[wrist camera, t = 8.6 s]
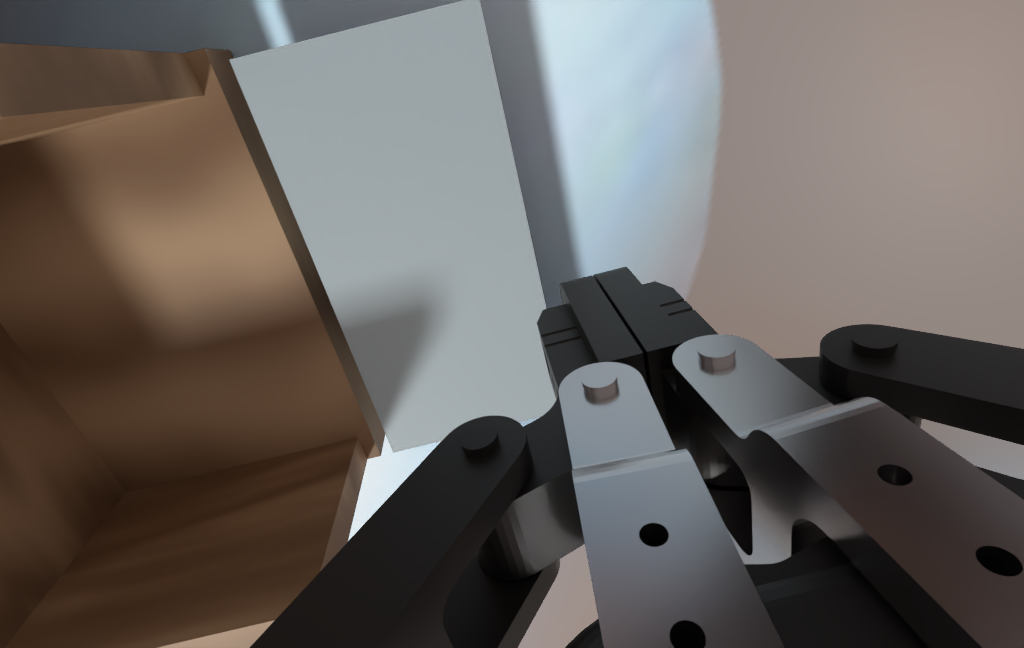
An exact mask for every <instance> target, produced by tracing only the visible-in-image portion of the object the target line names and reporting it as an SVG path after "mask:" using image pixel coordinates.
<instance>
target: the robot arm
mask: <svg viewBox="0 0 1024 648" xmlns="http://www.w3.org/2000/svg"><path fill="white" fill-rule="evenodd" d="M560 292H561V298H562V303H563V305H561V306H557V307H553V308H549V309H545V310H542V313H541V315H540V317H539V319H538V321H537V326H538V330H539V334H540V339H541V343H542V347H543V351H544V356H545V360H546V364H547V368H548V373H549V377H550V381H551V384H552V387H553V390H554V394H555V397H556V401H555V403H554V405H553V406H552V407H551V409H550V410H549V411H548V412H547V413H545V414H544V415H543V416H542V417H540V418H539V419H537V420H535V421H533V422H532V423H530V424H528V425H526V426H524V427H522V425H521V424H520V423H518V422H517V421H516V420H514V419H512V418H509V417H506V416H494V415H492V416H484V417H479V418H476V419H473V420H470V421H468V422H465V423H463V424H462V425H460V426H458V427H457V428H455V429H454V430H453V431H451V432H450V433H449V434H448V435H447V436H446V437H445V438H444V439H443V440H442V441H441V442H440V444H439V445H438V446H437V447H436V448H435V449H434V450H433V451H432V452H431V453H430V454H429V455H428V456H427V457H426V459H425V460H424V461H423V462H422V463H421V464H420V465H419V466H418V467H417V468H416V469H415V470H414V471H413V473H412V474H411V475H410V476H409V477H408V478H407V479H406V480H405V481H404V482H403V483H402V484H401V485H400V486H399V488H398V489H397V490H396V491H395V492H394V493H393V494H392V495H391V496H390V497H389V498H388V499H387V500H386V502H385V503H384V504H383V505H382V506H381V507H380V508H379V509H378V510H377V511H376V512H375V513H374V514H373V515H372V517H371V518H370V519H369V520H368V521H367V522H366V523H365V524H364V525H363V526H362V527H361V528H360V529H359V531H358V532H357V533H356V534H355V535H354V536H353V537H352V538H351V539H350V540H349V541H348V542H347V543H346V544H345V546H344V547H343V548H342V549H341V550H340V551H339V552H338V553H337V554H336V555H335V556H334V557H333V558H332V559H331V561H330V562H329V563H328V564H327V565H326V566H325V567H324V568H323V569H322V570H321V571H320V572H319V573H318V575H317V576H316V577H315V578H314V579H313V580H312V581H311V582H310V583H309V584H308V585H307V586H306V587H305V588H304V590H303V591H302V592H301V593H300V594H299V595H298V596H297V597H296V598H295V599H294V600H293V601H292V602H291V604H290V605H289V606H288V607H287V608H286V609H285V610H284V611H283V612H282V613H281V614H280V615H279V616H278V617H277V619H276V620H275V621H274V622H273V623H272V624H271V625H270V626H269V627H268V628H267V629H266V630H265V631H264V632H263V634H262V635H261V636H260V637H259V638H258V639H257V640H256V641H255V642H254V643H253V644H252V645H251V646H250V648H518V646H519V644H520V642H521V640H522V638H523V636H524V635H525V633H526V631H527V629H528V628H529V626H530V624H531V622H532V620H533V618H534V617H535V615H536V613H537V611H538V609H539V608H540V606H541V604H542V602H543V600H544V598H545V597H546V595H547V593H548V591H549V589H550V588H551V585H552V584H553V582H554V580H555V578H556V576H557V574H558V571H559V567H560V558H562V557H564V556H565V555H567V554H569V553H570V552H572V551H574V550H575V549H577V548H578V547H580V546H582V545H583V544H585V547H586V553H587V558H588V564H589V569H590V574H591V580H592V585H593V591H594V596H595V601H596V607H597V613H598V618H599V619H597V620H596V621H595V622H594V623H592V624H591V625H589V626H588V627H587V628H585V629H584V630H583V631H582V632H580V634H578V635H577V636H576V637H575V638H574V640H572V641H571V642H570V643H569V644H568V645H567V646H566V648H1024V480H1021V479H1017V478H1014V477H1010V476H1007V475H1004V474H1000V473H997V472H993V471H990V470H987V469H984V468H980V467H977V466H974V465H973V464H971V463H970V462H969V461H967V460H966V459H964V458H962V457H961V456H960V455H958V454H957V453H956V452H954V451H953V450H951V449H950V448H948V447H947V446H945V445H944V444H943V443H941V442H940V441H938V440H937V439H935V438H934V437H932V436H931V435H929V434H928V433H927V432H925V431H924V430H922V429H921V428H920V426H921V420H922V419H927V420H930V421H934V422H938V423H941V424H945V425H949V426H953V427H956V428H960V429H964V430H968V431H972V432H975V433H980V434H983V435H987V436H991V437H995V438H999V439H1002V440H1006V441H1010V442H1013V443H1017V444H1021V445H1024V349H1020V348H1014V347H1009V346H1003V345H997V344H991V343H985V342H979V341H973V340H967V339H961V338H956V337H949V336H943V335H937V334H932V333H926V332H920V331H914V330H908V329H902V328H896V327H891V326H884V325H872V324H862V325H851V326H846V327H842V328H838V329H836V330H834V331H831V332H830V333H828V334H826V336H824V337H823V339H822V340H821V343H820V357H803V358H785V359H774V358H772V357H771V356H770V355H769V354H768V353H766V352H765V351H764V350H762V349H761V348H760V347H759V346H757V345H756V344H754V343H753V342H751V341H749V340H747V339H744V338H741V337H737V336H733V335H720V334H718V333H717V332H716V331H715V330H714V329H713V328H712V327H711V326H710V325H709V324H708V323H707V322H706V321H705V320H704V319H703V318H702V317H701V316H700V315H699V314H698V313H697V312H696V311H695V310H693V309H692V307H691V306H690V305H689V304H688V303H687V302H686V301H684V299H683V298H682V297H681V296H680V295H679V294H678V293H677V292H676V291H675V289H674V288H671V287H669V286H666V285H663V284H661V283H658V282H651V283H647V284H643V285H642V284H641V283H640V282H639V281H638V279H637V278H636V277H635V276H634V275H633V274H632V272H631V271H630V270H629V269H628V268H627V267H623V268H619V269H615V270H611V271H607V272H603V273H599V274H595V275H593V276H588V277H584V278H580V279H576V280H572V281H568V282H564V283H560Z"/></svg>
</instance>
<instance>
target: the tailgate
mask: <svg viewBox="0 0 1024 648" xmlns="http://www.w3.org/2000/svg"><path fill="white" fill-rule="evenodd" d="M229 61H230V63H231V65H232V68H233V70H234V73H235V75H236V77H237V80H238V82H239V85H240V87H241V89H242V92H243V94H244V97H245V99H246V101H247V104H248V106H249V108H250V111H251V113H252V116H253V118H254V120H255V123H256V125H257V128H258V130H259V132H260V135H261V137H262V140H263V142H264V144H265V147H266V149H267V152H268V154H269V156H270V159H271V161H272V164H273V166H274V168H275V171H276V173H277V175H278V178H279V180H280V183H281V185H282V187H283V190H284V192H285V195H286V197H287V199H288V202H289V204H290V207H291V209H292V211H293V214H294V216H295V219H296V221H297V223H298V226H299V228H300V230H301V233H302V235H303V238H304V240H305V242H306V245H307V247H308V250H309V252H310V254H311V257H312V259H313V262H314V264H315V266H316V269H317V271H318V274H319V276H320V278H321V281H322V283H323V286H324V288H325V290H326V293H327V295H328V297H329V300H330V302H331V305H332V307H333V309H334V312H335V314H336V317H337V319H338V321H339V324H340V326H341V329H342V331H343V333H344V336H345V338H346V341H347V343H348V345H349V348H350V350H351V353H352V355H353V357H354V360H355V362H356V364H357V367H358V369H359V372H360V374H361V376H362V379H363V381H364V384H365V386H366V388H367V391H368V393H369V396H370V398H371V400H372V403H373V405H374V408H375V410H376V412H377V415H378V417H379V420H380V422H381V424H382V427H383V429H384V431H385V434H386V436H387V439H388V441H389V443H390V446H391V448H392V451H393V452H397V451H401V450H405V449H410V448H414V447H418V446H422V445H426V444H430V443H434V442H438V441H442V440H443V439H444V438H445V437H446V436H447V435H448V434H449V433H450V432H451V431H453V430H454V429H455V428H457V427H458V426H460V425H462V424H463V423H465V422H468V421H470V420H473V419H476V418H479V417H484V416H492V415H494V416H506V417H509V418H512V419H514V420H516V421H517V422H521V421H525V420H529V419H533V418H537V417H541V416H543V415H544V414H545V413H547V412H548V411H549V410H550V409H551V407H552V406H553V405H554V403H555V401H556V397H555V394H554V390H553V387H552V384H551V381H550V377H549V373H548V368H547V364H546V360H545V356H544V351H543V347H542V343H541V339H540V334H539V330H538V326H537V321H538V319H539V317H540V315H541V313H542V310H545V309H546V304H545V299H544V295H543V290H542V285H541V281H540V276H539V272H538V267H537V262H536V258H535V253H534V248H533V244H532V239H531V235H530V230H529V225H528V221H527V216H526V211H525V207H524V202H523V197H522V193H521V188H520V184H519V179H518V174H517V170H516V165H515V160H514V156H513V151H512V147H511V142H510V137H509V133H508V128H507V123H506V119H505V114H504V109H503V105H502V100H501V96H500V91H499V86H498V82H497V77H496V72H495V68H494V63H493V59H492V54H491V49H490V45H489V40H488V35H487V31H486V26H485V21H484V17H483V12H482V8H481V3H480V0H462V1H458V2H454V3H450V4H446V5H442V6H438V7H434V8H430V9H426V10H422V11H418V12H415V13H411V14H407V15H403V16H399V17H395V18H391V19H387V20H383V21H379V22H375V23H371V24H367V25H363V26H359V27H356V28H352V29H348V30H344V31H340V32H336V33H332V34H328V35H324V36H320V37H316V38H312V39H308V40H304V41H300V42H296V43H293V44H289V45H285V46H281V47H277V48H273V49H269V50H265V51H261V52H257V53H253V54H249V55H245V56H241V57H237V58H233V59H230V60H229Z"/></svg>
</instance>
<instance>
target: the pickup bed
mask: <svg viewBox="0 0 1024 648" xmlns="http://www.w3.org/2000/svg"><path fill="white" fill-rule="evenodd" d="M230 59H233V56H232V53H231V51H230V50H220V49H207V48H203V49H199V50H195V51H191V52H187V53H173V52H155V51H137V50H119V49H101V48H83V47H65V46H48V45H30V44H12V43H0V648H250V646H251V645H252V644H253V643H254V642H255V641H256V640H257V639H258V638H259V637H260V636H261V635H262V634H263V632H264V631H265V630H266V629H267V628H268V627H269V626H270V625H271V624H272V623H273V622H274V621H275V620H276V619H277V617H278V616H279V615H280V614H281V613H282V612H283V611H284V610H285V609H286V608H287V607H288V606H289V605H290V604H291V602H292V601H293V600H294V599H295V598H296V597H297V596H298V595H299V594H300V593H301V592H302V591H303V590H304V588H305V587H306V586H307V585H308V584H309V583H310V582H311V581H312V580H313V579H314V578H315V577H316V576H317V575H318V573H319V572H320V571H321V570H322V569H323V568H324V567H325V566H326V565H327V564H328V563H329V562H330V561H331V559H332V558H333V557H334V556H335V555H336V554H337V553H338V552H339V551H340V550H341V549H342V548H343V547H344V546H345V544H346V543H347V542H348V538H349V533H350V529H351V525H352V521H353V517H354V512H355V508H356V504H357V500H358V496H359V491H360V487H361V483H362V479H363V475H364V471H365V466H366V462H367V459H369V458H373V457H378V456H381V452H382V447H383V442H384V437H385V431H384V429H383V427H382V424H381V422H380V420H379V417H378V415H377V412H376V410H375V408H374V405H373V403H372V400H371V398H370V396H369V393H368V391H367V388H366V386H365V384H364V381H363V379H362V376H361V374H360V372H359V369H358V367H357V364H356V362H355V360H354V357H353V355H352V353H351V350H350V348H349V345H348V343H347V341H346V338H345V336H344V333H343V331H342V329H341V326H340V324H339V321H338V319H337V317H336V314H335V312H334V309H333V307H332V305H331V302H330V300H329V297H328V295H327V293H326V290H325V288H324V286H323V283H322V281H321V278H320V276H319V274H318V271H317V269H316V266H315V264H314V262H313V259H312V257H311V254H310V252H309V250H308V247H307V245H306V242H305V240H304V238H303V235H302V233H301V230H300V228H299V226H298V223H297V221H296V219H295V216H294V214H293V211H292V209H291V207H290V204H289V202H288V199H287V197H286V195H285V192H284V190H283V187H282V185H281V183H280V180H279V178H278V175H277V173H276V171H275V168H274V166H273V164H272V161H271V159H270V156H269V154H268V152H267V149H266V147H265V144H264V142H263V140H262V137H261V135H260V132H259V130H258V128H257V125H256V123H255V120H254V118H253V116H252V113H251V111H250V108H249V106H248V104H247V101H246V99H245V97H244V94H243V92H242V89H241V87H240V85H239V82H238V80H237V77H236V75H235V73H234V70H233V68H232V65H231V63H230V61H229V60H230Z"/></svg>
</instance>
